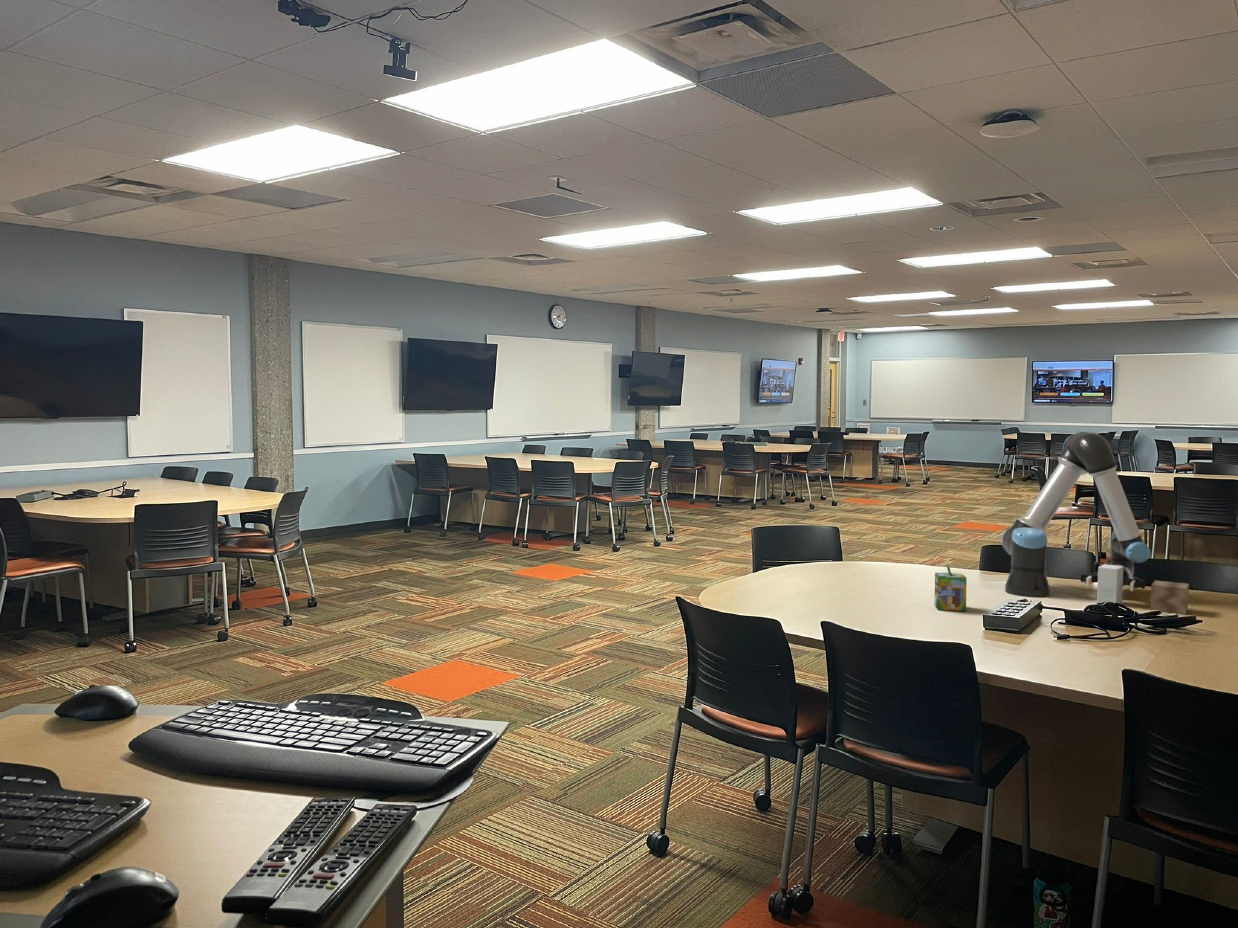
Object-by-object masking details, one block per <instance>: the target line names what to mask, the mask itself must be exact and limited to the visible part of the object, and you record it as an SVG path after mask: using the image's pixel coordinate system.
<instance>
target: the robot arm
mask: <svg viewBox="0 0 1238 928" xmlns="http://www.w3.org/2000/svg"><path fill="white" fill-rule="evenodd" d="M1057 460H1058V463H1057V465H1056V468H1055V469H1054V471H1052V474H1050V476H1049V478H1048V479H1047V481H1046V482H1045V484H1044V486H1043V487H1042V488H1041V490H1040V492H1039V493H1038V494H1037V496H1036V497H1035V499H1034V501H1032V504H1031V505H1030V506H1029V508H1028V510H1027V511H1026V512H1025V514H1024V516H1023V517H1018V518H1016V520H1015V521H1014V522H1013V524H1012V526H1011V527H1009V528H1007V529H1006V530H1005V531H1004V532H1003V535H1002V536H1001V537H1002V538H1001V545H1002V547H1003V550H1004V551H1005V552H1006V553H1007V555H1008V556H1011V557H1010V559H1011V561H1010V567H1011V568H1010V572H1009V574H1008V577H1007V580H1006V583H1005V585H1004V586H1005V589H1004V590H1005V592H1006V593H1007V594H1008V593H1009V594H1012V595H1016V596H1022V597H1023V596H1024V597H1025V596H1026V597H1034V598H1035V597H1036V598H1037V597H1040V598H1041V597H1048V596H1050V595H1051V587H1050V584H1049V583H1050V582H1049V580H1048V577H1047V574H1046V573H1047V572H1046V568H1047V548H1048V547H1047V544H1048V536H1047V532H1046V528H1047V526H1048V525H1049V523H1050V522H1051V520H1052V519H1053V517H1054V516H1055V515H1056V513H1057V511H1058V510H1059V509H1060V507H1061V506H1062V504H1063V503H1064V501H1065V499H1066V497H1067V496H1068V495H1069V494H1070V492H1071V490H1072V489H1073V487H1075V485H1076V483H1077V482H1078V480H1079V479H1080V477H1081V476H1083V475H1086V474H1088V475H1090V476H1091V477H1092V478H1093V480H1094V483H1095V485H1096V488H1097V490H1098V493H1099V496H1100V498H1101V500H1102V503H1103V505H1104V508H1105V511H1106V513H1107V515H1108V518H1109V521H1110V523H1111V525H1112V527H1113V528H1112V529H1113V531H1112V532H1111V538H1110V541H1111V544H1110V564H1109V565H1117V566H1123V586H1122V588H1123V587H1124V586H1128V587H1129V592H1134V590H1135V589H1139V588H1140V589H1142V590H1143V589H1146V581H1145V580H1144V579H1141V578H1139V577H1138V576H1134V575H1135V567H1134V563H1136V564H1139V563H1144V562H1146V561H1147V560H1148V559H1149V558H1150V555H1151V550H1150V549H1151V548H1150V547H1149V546H1148V545H1147V543H1145V542H1144V540H1143V539H1144V538H1143V537H1142V535H1141V532H1140V529H1139V528H1138V527H1139V526H1138V524H1137V523H1136V519H1135V517H1134V514H1133V512H1132V509H1131V506H1130V504H1129V502H1128V499H1127V496H1126V494H1125V491H1124V488H1123V486H1122V483H1121V481H1120V479H1119V476H1118V473H1117V471H1116V469H1117V467H1118V465H1117V462H1116V459H1115V457H1114V453H1113V451H1112V449H1111V446H1110V444H1109V442H1108V440H1107V439H1106V438H1105V437H1104V436H1103V435H1101V434H1099V433H1095V432H1086V431H1079V432H1076V433H1072V434H1071V435H1070V436H1068V437H1067V438H1066V439H1065V441H1064V443H1063V445H1062V451H1061V452H1060V454H1059V455H1058V456H1057ZM1080 582H1081V583H1085V586H1086V587H1089V586H1090V585H1091V584H1092V583H1098V571H1097V572H1093V573H1085V574H1084V573H1083V574H1082V573H1081V574H1080Z"/></svg>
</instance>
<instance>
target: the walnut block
mask: <svg viewBox="0 0 1238 928" xmlns="http://www.w3.org/2000/svg"><path fill="white" fill-rule="evenodd" d="M1150 588H1151V589H1150V590H1151V591H1150V610H1159V611H1161V612H1160V613H1164V612H1166V613H1165V614H1172V613H1176V614H1175V615H1183V616H1186V614H1187V612H1188V610H1189V589H1190V584H1189V583H1185V582H1176V581H1175V582H1174V581H1165V580H1163V581H1162V580H1156V579H1155V580H1154V581H1153V582H1152V583H1151V587H1150ZM1150 610H1149V611H1150Z"/></svg>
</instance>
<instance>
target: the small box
mask: <svg viewBox="0 0 1238 928" xmlns="http://www.w3.org/2000/svg"><path fill="white" fill-rule="evenodd" d="M1097 573H1098V582H1097V588H1096V589H1097V593H1096V594H1097V596H1096V603H1103V602H1113V603H1120V604H1122V603H1123V587H1124V586H1123V566H1117V565H1110V564H1106V563H1104V564H1102V565H1100V566H1098V569H1097ZM1122 586H1123V587H1122Z"/></svg>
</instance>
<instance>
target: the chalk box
mask: <svg viewBox="0 0 1238 928" xmlns="http://www.w3.org/2000/svg"><path fill="white" fill-rule="evenodd" d="M945 565H946V569H947V572H935V573H934V602H933V603H934V604H933V605H934V607H935V608H936V610H938V611H956V612H957V611H959V612H967V576H965V575H964V574H962V573H960V572H959V573H957V572H951V569H950V568H951V567H950V566H949V564H948V563H946V564H945Z"/></svg>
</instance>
